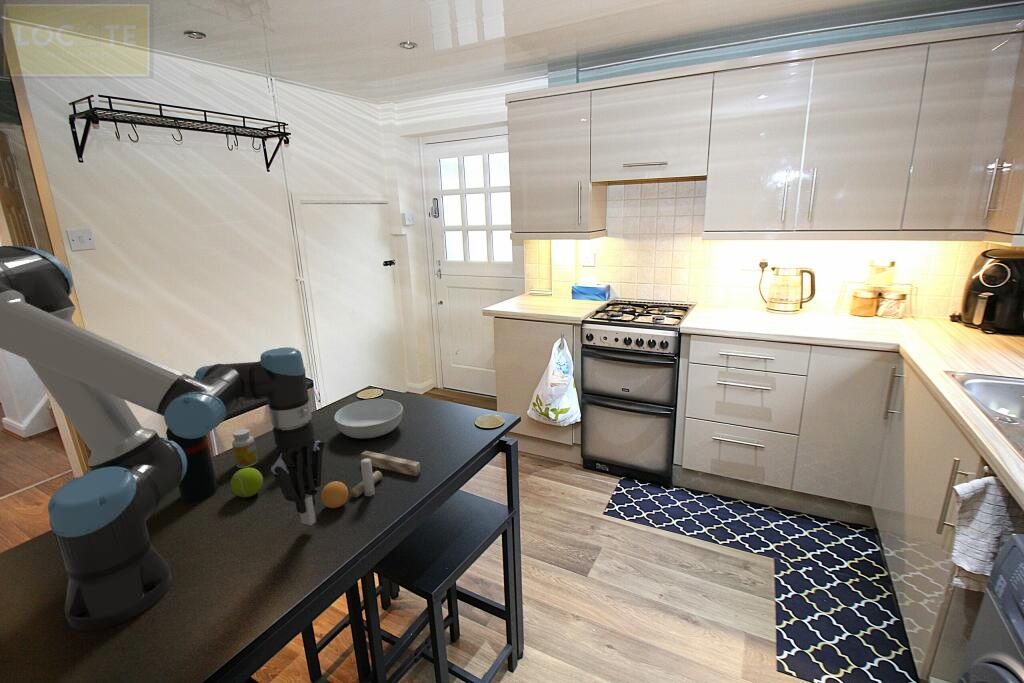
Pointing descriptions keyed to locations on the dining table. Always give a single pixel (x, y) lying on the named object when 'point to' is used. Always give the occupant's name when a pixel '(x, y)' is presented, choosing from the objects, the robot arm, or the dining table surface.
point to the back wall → (392, 463)
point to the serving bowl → (369, 418)
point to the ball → (334, 494)
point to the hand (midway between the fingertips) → (308, 522)
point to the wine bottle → (195, 469)
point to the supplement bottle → (244, 448)
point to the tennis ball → (246, 482)
